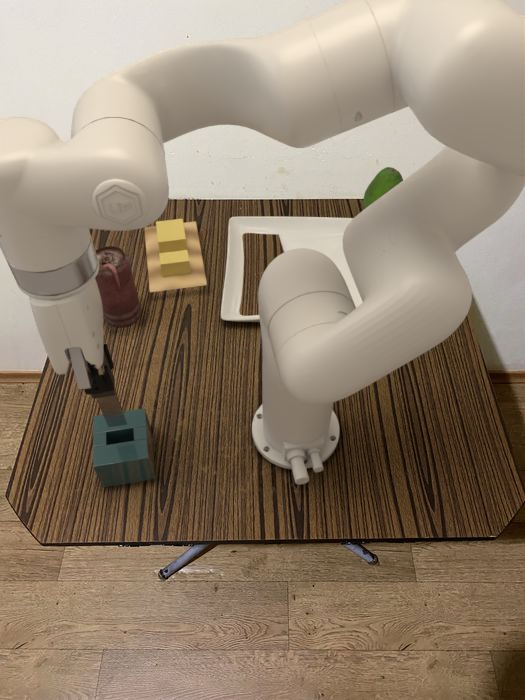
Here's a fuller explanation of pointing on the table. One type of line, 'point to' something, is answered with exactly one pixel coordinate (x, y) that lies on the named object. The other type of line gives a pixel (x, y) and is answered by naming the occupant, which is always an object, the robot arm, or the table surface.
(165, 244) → the butter block
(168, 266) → the block
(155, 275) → the butter board
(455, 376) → the table surface
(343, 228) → the square plate
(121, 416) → the knife
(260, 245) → the table surface
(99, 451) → the stand
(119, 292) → the can
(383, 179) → the fruit
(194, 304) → the table surface
